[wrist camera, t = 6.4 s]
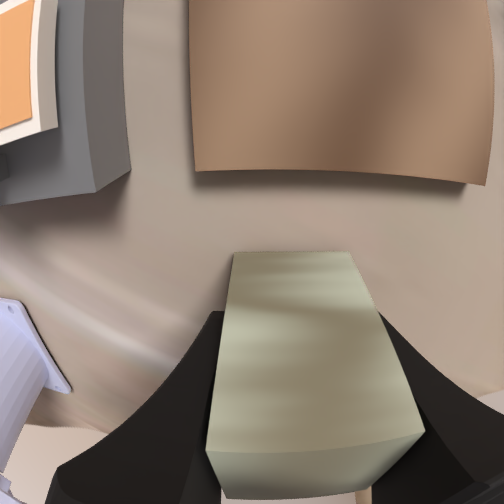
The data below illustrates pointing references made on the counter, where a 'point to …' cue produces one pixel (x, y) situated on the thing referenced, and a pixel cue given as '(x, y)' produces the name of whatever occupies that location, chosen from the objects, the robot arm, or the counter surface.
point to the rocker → (27, 68)
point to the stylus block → (305, 381)
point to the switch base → (76, 111)
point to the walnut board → (343, 86)
